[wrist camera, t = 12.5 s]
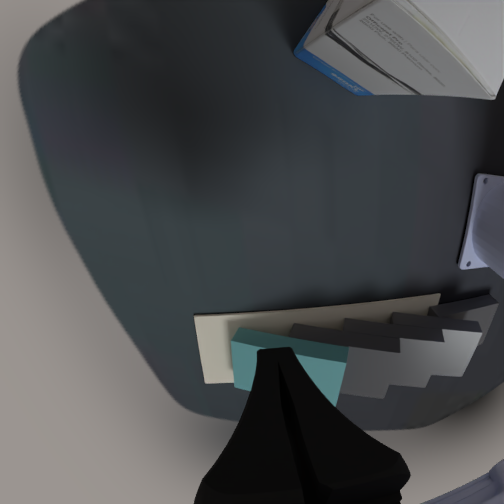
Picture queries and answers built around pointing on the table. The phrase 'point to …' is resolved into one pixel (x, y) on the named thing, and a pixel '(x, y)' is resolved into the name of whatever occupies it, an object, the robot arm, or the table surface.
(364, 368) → the tile
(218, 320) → the mat
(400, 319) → the tile
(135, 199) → the table surface
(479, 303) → the tile
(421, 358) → the tile
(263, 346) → the tile teal
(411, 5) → the ink box
